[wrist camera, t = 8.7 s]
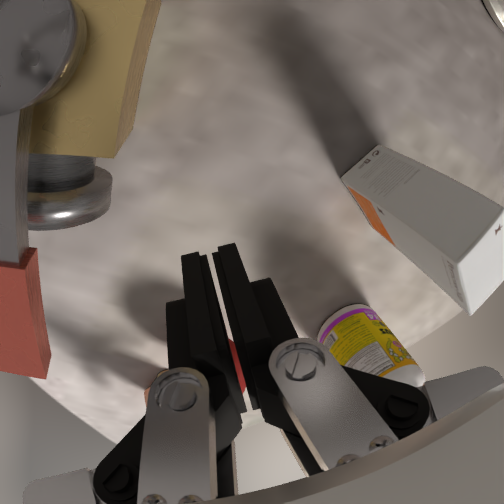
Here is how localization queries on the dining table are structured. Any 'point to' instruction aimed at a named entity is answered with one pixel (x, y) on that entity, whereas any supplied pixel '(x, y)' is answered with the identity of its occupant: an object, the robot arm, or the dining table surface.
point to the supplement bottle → (368, 345)
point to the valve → (89, 116)
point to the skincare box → (433, 223)
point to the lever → (16, 162)
